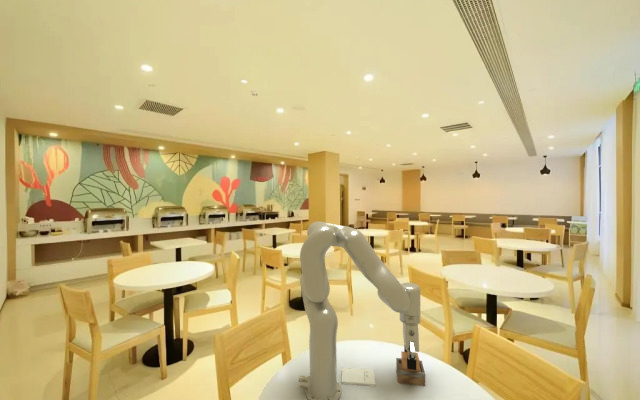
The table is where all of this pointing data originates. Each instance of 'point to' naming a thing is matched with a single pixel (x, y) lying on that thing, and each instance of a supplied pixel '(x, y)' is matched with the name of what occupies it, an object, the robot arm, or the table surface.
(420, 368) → the brown wooden box
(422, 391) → the table surface
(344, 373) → the external hard drive
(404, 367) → the tan block
